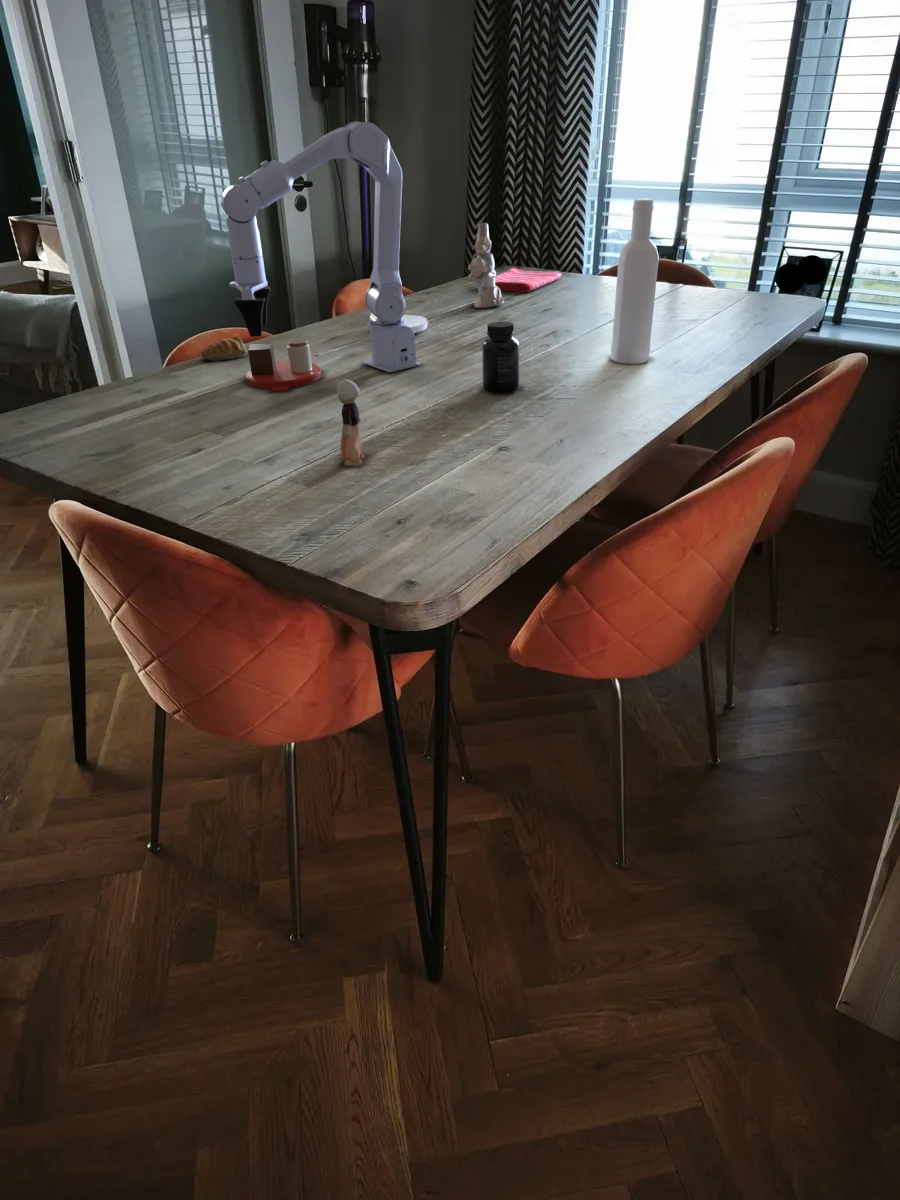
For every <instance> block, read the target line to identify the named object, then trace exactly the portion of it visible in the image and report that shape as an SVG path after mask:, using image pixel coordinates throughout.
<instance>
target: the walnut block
mask: <svg viewBox="0 0 900 1200" xmlns="http://www.w3.org/2000/svg"><path fill="white" fill-rule="evenodd" d="M274 350H275V349H274V343H257V344H255V343H253V344H249V347H248V349H247V354H248V360H249V367H250V370H251V373H252V376H253V375H272V374H274V373H275V370H276V364H275V362H276V357H275V351H274Z"/></svg>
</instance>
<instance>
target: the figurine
mask: <svg viewBox="0 0 900 1200" xmlns="http://www.w3.org/2000/svg"><path fill="white" fill-rule="evenodd" d="M492 244H493V243H492V240H491V239H490V233H489V223H487V222H480V223H478V225H477V236H476V239H475V247H474V251H475V252H476V253H477V255H476V257H474V258H472V260H471V262H470V264H468V268H467V270H469V272H470V273H469V274H468V280H469V281H471V282H474V283H475V284H474V287H475V288H477V290H478V294H477V297H476V298H475V302H474V304H473V305H474V308H480V309H481V308H482V309H483V308H491V307H492V308H493V307H495V306H500V305H502V304H504V303H505V300H504V298H503V296H502V293H501V290H500V288H499V287H497V286H496V285H495V276H497V271H496V270H495V259H494V254H493V253H491V249H492Z"/></svg>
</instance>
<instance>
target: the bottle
mask: <svg viewBox="0 0 900 1200" xmlns="http://www.w3.org/2000/svg"><path fill="white" fill-rule="evenodd" d="M653 211H654V199H653V198H648V197H647V198H645V197H644V198H635V199H634V200H633V206H632V221H631V234H630V239H629V240H628V241H627V242H626V244H624V245H623V246H622V248H621V251H620V253H619V257H618V260H617V274H616V285H615V286H616V287H615V299H614V310H613V311H614V312H613V313H614V314H613V327H612V340H611V345H610V353H611V354H610V359H611V360H612V362H615V363H619V364H626V365H637V364H642V363H646V362H647V361H649V358H650V353H651V339H652V329H653V318H654V310H655V309H654V307H655V299H656V290H657V279H658V270H659V269H658V268H659V260H660V259H659V258H660V257H659V253H658V247H657V246H656V244H655V243H654V242H653V241H652V240H651V229H652V219H653Z"/></svg>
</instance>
